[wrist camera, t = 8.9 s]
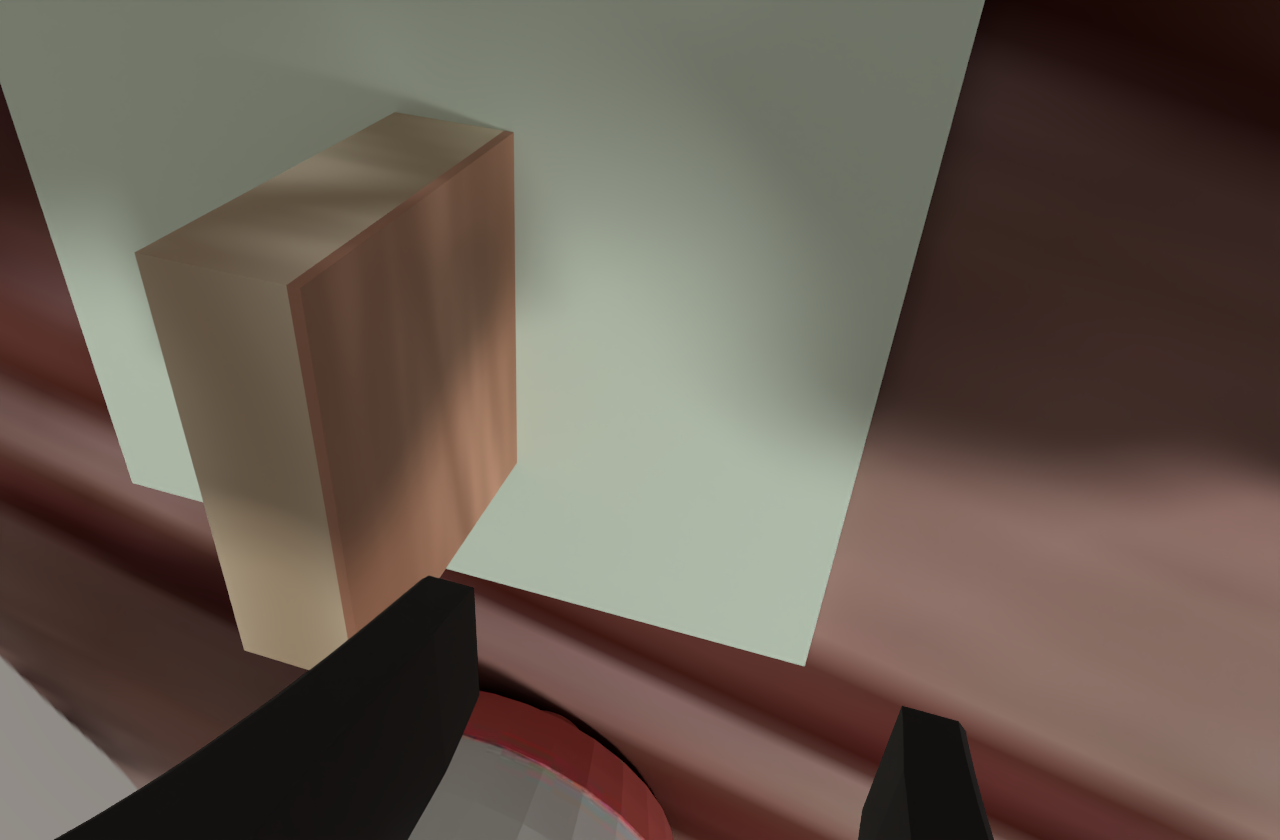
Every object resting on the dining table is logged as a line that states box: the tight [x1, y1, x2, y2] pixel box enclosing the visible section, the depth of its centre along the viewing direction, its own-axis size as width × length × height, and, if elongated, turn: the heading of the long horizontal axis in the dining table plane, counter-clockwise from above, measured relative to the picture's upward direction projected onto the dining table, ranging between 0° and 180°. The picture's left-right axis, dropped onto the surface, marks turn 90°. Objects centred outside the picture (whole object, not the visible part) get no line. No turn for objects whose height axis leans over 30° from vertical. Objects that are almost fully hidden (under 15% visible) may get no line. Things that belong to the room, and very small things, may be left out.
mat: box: [0, 0, 985, 666], centre depth 20 cm, size 20×18×1 cm
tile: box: [134, 112, 517, 670], centre depth 17 cm, size 2×8×7 cm, turn 176°
